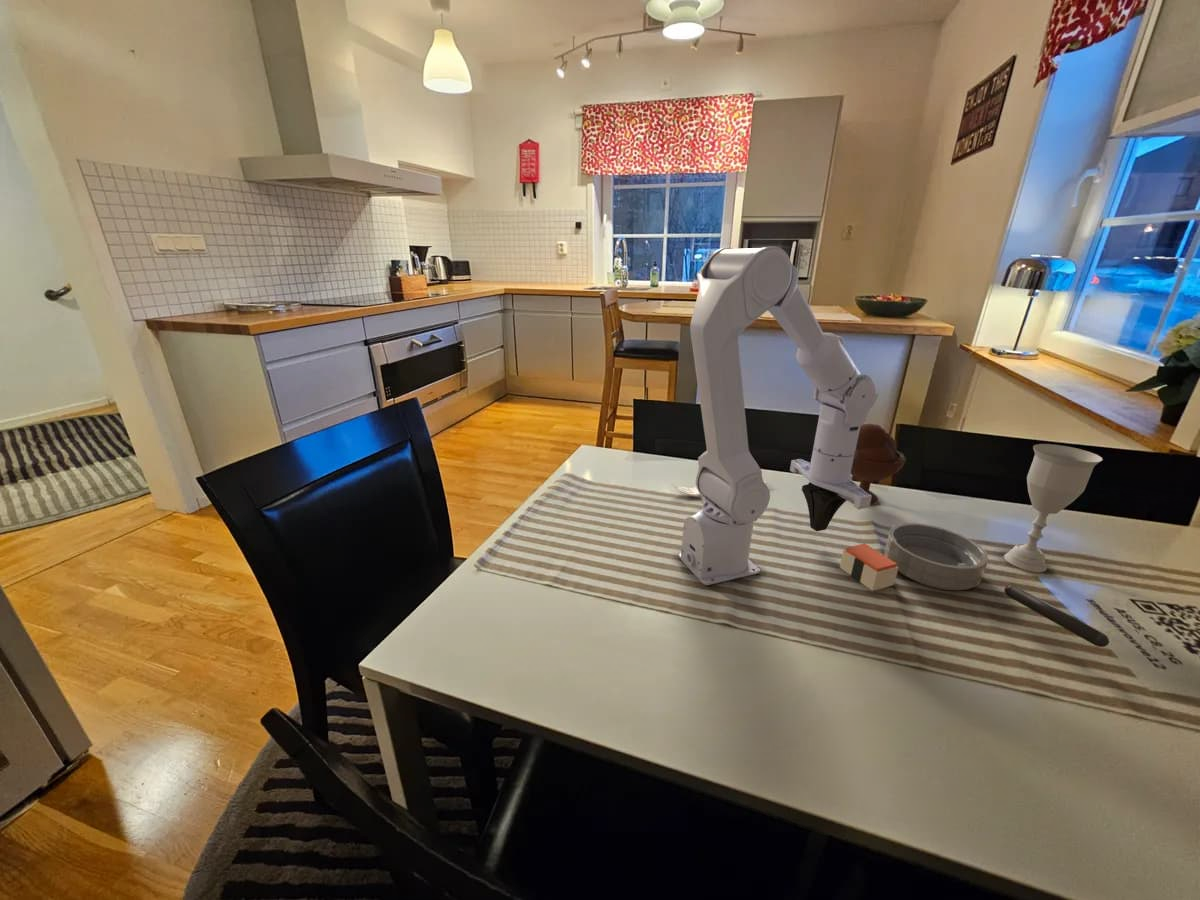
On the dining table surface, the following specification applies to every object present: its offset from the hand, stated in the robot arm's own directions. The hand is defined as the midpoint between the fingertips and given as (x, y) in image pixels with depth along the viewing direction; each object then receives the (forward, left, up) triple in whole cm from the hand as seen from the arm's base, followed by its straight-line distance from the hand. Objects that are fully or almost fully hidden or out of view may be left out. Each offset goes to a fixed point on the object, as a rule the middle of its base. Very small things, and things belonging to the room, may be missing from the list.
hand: (818, 528), depth 79 cm
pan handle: (+11, -26, 0) cm, 29 cm away
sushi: (0, -10, -2) cm, 10 cm away
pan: (+11, -11, -2) cm, 16 cm away
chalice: (+26, -15, -3) cm, 30 cm away
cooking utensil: (-10, +22, -2) cm, 25 cm away
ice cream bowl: (+20, +10, -3) cm, 22 cm away
